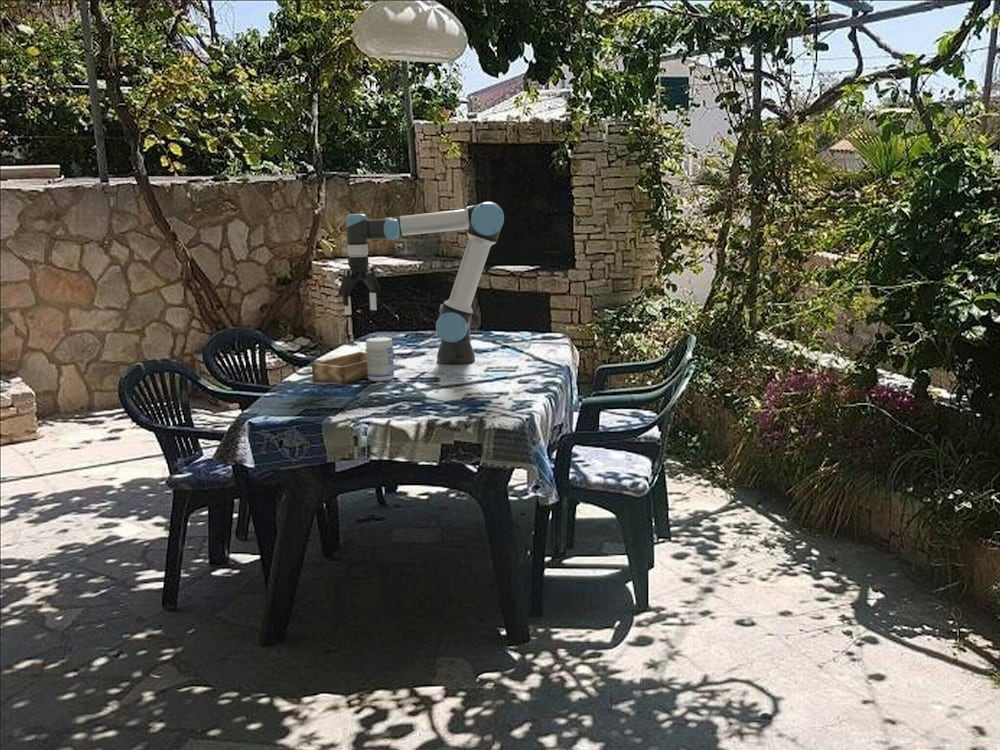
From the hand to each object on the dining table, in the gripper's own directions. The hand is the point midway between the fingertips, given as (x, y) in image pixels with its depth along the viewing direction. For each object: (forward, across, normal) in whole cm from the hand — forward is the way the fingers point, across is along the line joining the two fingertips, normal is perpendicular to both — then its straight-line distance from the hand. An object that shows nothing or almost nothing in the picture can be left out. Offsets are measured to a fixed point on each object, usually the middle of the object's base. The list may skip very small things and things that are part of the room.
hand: (361, 312), depth 334 cm
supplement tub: (+22, +10, +18) cm, 30 cm away
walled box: (+22, +10, +4) cm, 25 cm away
